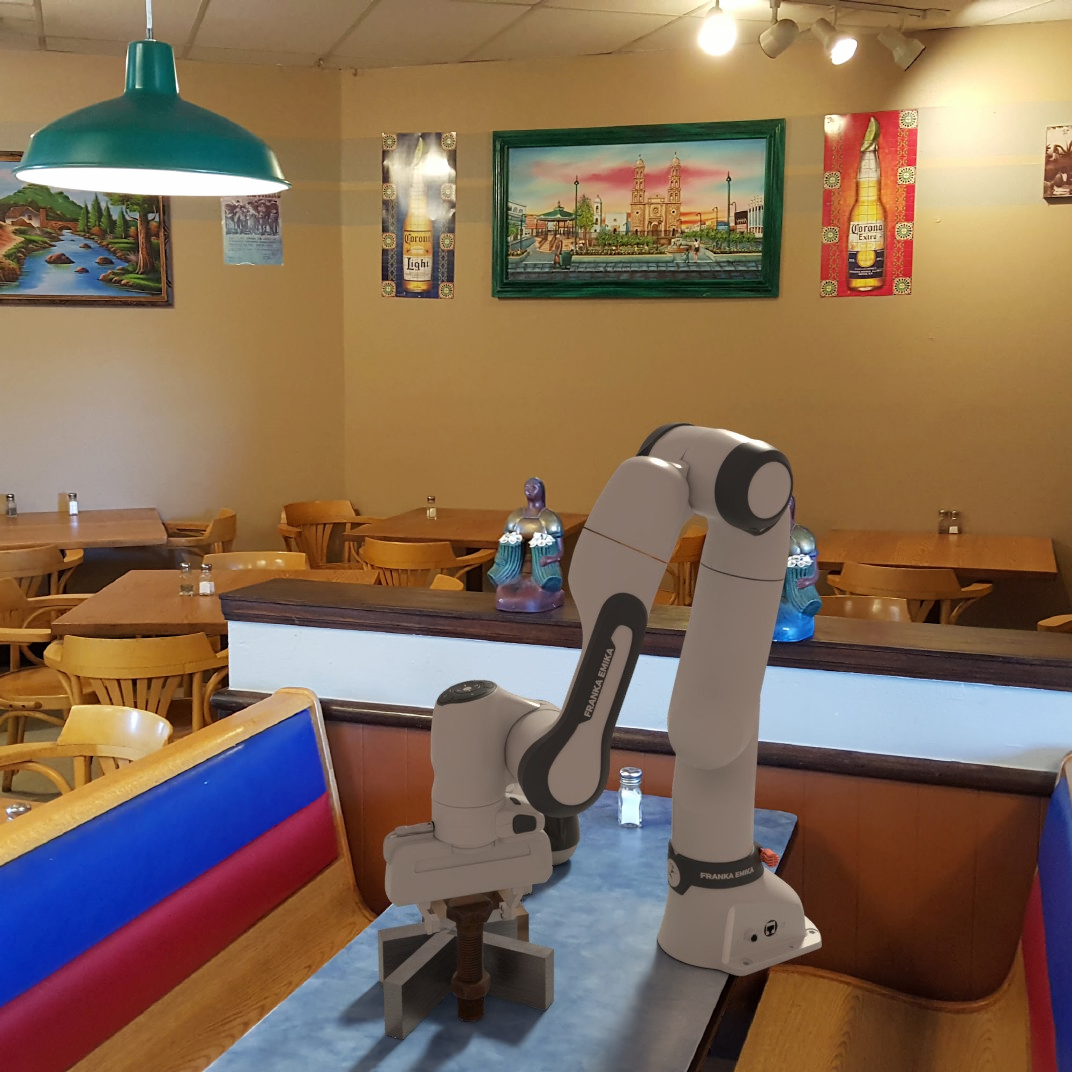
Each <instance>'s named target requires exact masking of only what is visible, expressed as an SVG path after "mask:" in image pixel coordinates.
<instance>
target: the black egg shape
mask: <svg viewBox="0 0 1072 1072" xmlns="http://www.w3.org/2000/svg"><path fill="white" fill-rule="evenodd" d="M543 815H544V814H543ZM544 818H545V825H544V828H543V830H544V832H545V833H546V834H547V836H548V838H549V840H550V845H551V853H552V865H553V866H558V865H562V864H564V863H566V862H567V861H568V860H570V859H571V857H573V855H574V854H575V852H576V850H577V848H578V844H579V843H580V840H581V825H580V817H579V814H577V815H574V816H570V817H563V818H557V817H550V816H547V815H544Z"/></svg>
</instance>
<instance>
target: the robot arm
mask: <svg viewBox="0 0 1072 1072" xmlns="http://www.w3.org/2000/svg"><path fill="white" fill-rule="evenodd" d="M793 492H794V476H793V470H792V466H791V463H790V461H789V459H788V457H787V456H786V455H785V454H784V453H783V452H782V451H780V450H779V449H778V448H776V447H775V446H773V445H772V444H769V443H767V442H765V441H763V440H760V439H753V438H751V437H748V436H746V435H743V434H741V433H738V432H735V431H731V430H728V429H724V428H713V427H706V426H697V425H695V424H692V423H689V422H671V423H666V424H663V425H660V426H658V427H657V428H656V429H654V430H653V431H652V432H651V433H650V434H649V435H648V436H647V437H646V438H645V440H644V441H643V442H642V444H641V445H640V447H639V449H638V451H637V453H636V454H635V456H632V457H630V458H628V459H625V460H624V461H623V462H621V463H620V465H618V467H617V468H616V469H615V471H614V472H613V474H612V475H611V477H610V478H609V479H608V481H607V483H606V485H605V486H604V487H603V489H602V491H601V493H600V494H599V495H598V498H597V500H596V501H595V503H594V505H593V507H592V509H591V511H590V513H589V514H588V517H587V520H586V521H585V522H584V525H583V527H585V528H582V529H581V533H580V534H579V536H578V539H577V542H576V544H575V547H574V550H573V553H572V558H571V561H570V566H569V571H568V575H567V580H568V586H569V591H570V593H571V594H570V595H571V596H572V599H573V600H574V604H575V606H576V610H577V611H578V615H579V619H580V623H581V629H582V646H581V651H580V655H579V659H578V662H577V664H576V667H575V670H574V673H573V675H572V678H571V681H570V684H569V687H568V690H567V691H566V692H567V693H566V696H565V698H564V701H563V703H562V704H563V705H562V706H561V708H559V706H557V705H555V704H554V703H552V702H550V701H546V700H543V699H533V698H529V697H528V698H527V697H524V696H519V695H517V694H514V693H513V692H510V691H508V690H506V689H504V688H502V687H501V686H499V684H497V683H496V682H494V681H492V680H488V679H487V680H486V679H470V680H466V681H462V682H459V683H455V684H453V685H451V686H449V687H448V688H446V689H445V690H443V691H442V692H440V694H439V696H438V697H437V699H436V701H435V703H434V707H433V711H432V717H431V718H432V719H431V726H430V727H431V729H430V730H431V731H430V761H431V766H432V768H433V773H434V774H433V775H434V779H433V784H432V787H431V821H427V822H422V823H417V824H416V823H415V824H413V825H400V826H397V827H395V829H394V830H393V831H391V832H389V833H388V834H387V835H386V836H385V837H384V839H383V844H382V848H383V849H382V850H383V852H382V856H383V859H384V861H385V862H386V866H385V876H384V889H385V894H386V896H387V898H388V900H389V901H390V902H391V903H392V904H393V905H394V906H395V907H399V908H400V907H406V906H411V905H415V906H416V907H417V909H418V912H419V913H420V915H421V917H422V916H423V917H424V919H425V931H426V933H427V934H428V935H430V934H435V933H440V928H439V926H440V920H439V918H438V916H437V914H429V913H428V911H427V910H426V909H430V901H436V900H442V899H448V898H454V897H460V896H466V895H472V894H478V893H484V892H490V891H496V890H502V889H508V888H509V889H510V890H511V891H510V893H509V895H508V897H507V899H506V902H501V903H499V908H500V909H501V910H500V917H501V919H502V920H503V921H508V920H514V919H515V907H516V906H517V905H518V903H519V901H520V902H521V900H522V898H523V896H524V895H523V894H524V886H526V885H532V886H533V885H537V884H543V883H544V884H545V883H546V882H547V881H548V880H549V879H550V878H551V876H552V874H553V866H552V853H551V845H550V840H549V838H548V836H547V834H546V833H545V832H544V830H543V828H544V825H545V818H544V815H547V816H550V817H557V818H563V817H570V816H574V815H577V814H578V815H579V814H581V813H583V812H585V811H586V810H588V809H590V808H591V807H592V806H593V805H595V803H596V802H597V801H598V800H599V799H600V797H601V796H602V795H603V793H604V791H605V789H606V788H607V784H608V781H609V777H610V770H611V747H612V739H613V735H614V732H615V728H616V726H617V722H618V719H619V716H620V713H621V710H622V707H623V705H624V703H625V698H626V696H627V692H628V690H629V687H630V684H631V681H632V678H633V676H634V673H635V670H636V666H637V664H638V661H639V658H640V654H641V651H642V648H643V644H644V641H645V636H646V632H647V628H648V624H649V623H648V622H649V618H650V613H651V611H652V607H653V604H654V601H655V599H656V595H657V592H658V590H659V588H660V585H661V583H662V579H663V577H664V575H665V573H666V570H667V567H668V566H669V564H670V561H671V558H672V555H673V554H674V551H675V548H676V545H677V542H678V541H679V538H680V534H681V530H682V529H683V527H684V526H685V524H687V522H688V521H689V520H691V519H692V518H693V517H694V516H696V517H700V518H706V521H707V528H708V529H707V532H706V535H705V539H704V544H703V548H702V552H701V558H700V562H699V568H698V571H697V578H696V583H695V588H694V592H693V593H694V594H693V599H692V604H691V609H690V614H689V619H688V624H687V628H686V631H685V636H684V640H683V644H682V647H681V652H680V656H679V660H678V661H679V662H678V666H677V670H676V674H675V677H674V681H673V682H674V683H673V687H672V690H671V691H672V692H671V695H670V696H671V697H670V701H669V705H668V711H667V717H666V719H667V720H666V726H667V727H666V728H667V735H668V739H669V744H670V746H671V748H672V750H673V752H674V753H675V761H674V762H675V763H674V771H673V780H672V785H671V787H672V788H671V790H672V791H671V832H670V833H671V835H670V837H671V838H670V839H669V841H668V843H667V844H668V845H667V846H668V847H667V862H666V872H667V874H666V875H667V884H668V888H667V889H668V890H667V896H666V902H665V909H664V912H663V917H662V921H661V924H660V927H659V929H658V930H659V931H658V933H657V942H658V944H659V946H660V947H661V949H662V950H663V951H664V952H666V954H667V955H669V956H670V957H672V958H674V959H676V960H678V961H681V962H683V963H686V964H688V965H692V966H696V967H701V968H707V969H712V970H713V969H715V970H718V971H722V972H725V973H728V974H731V975H733V976H738V977H744V976H747V975H750V974H753V973H756V972H758V971H762V970H764V969H768V968H770V967H772V966H776V965H778V964H781V963H784V962H786V961H789V960H791V959H794V958H798V957H800V956H803V955H806V954H808V953H810V952H814V951H816V950H819V949H821V948H822V936H821V933H820V931H819V929H818V928H817V927H816V925H815V924H814V923H813V922H812V921H811V920H810V919H809V918H808V917H807V916H806V915H805V911H804V907H803V903H802V901H801V899H800V896H799V895H798V893H797V892H796V891H795V890H794V889H793V888H792V886H791V885H789V884H788V883H786V881H784V880H783V879H781V877H779V876H778V875H777V874H775V873H773V871H771V870H769V869H768V868H771V869H773V868H775V867H777V866H778V864H779V863H780V856H779V855H778V854H777V853H776V852H774V851H773V850H771V849H770V848H765V849H764V848H763V846H762V844H760V843H759V842H757V841H756V840H754V827H755V826H754V823H755V822H754V821H755V820H754V819H755V795H756V793H755V792H756V778H757V766H758V765H757V764H758V745H759V731H760V714H761V694H762V688H763V684H764V680H765V679H764V678H765V674H766V670H767V666H768V665H767V664H768V661H769V656H770V653H771V652H770V651H771V645H772V642H773V638H774V632H775V627H776V624H777V617H778V613H779V608H780V605H781V604H780V603H781V600H782V599H781V598H782V593H783V588H784V584H785V577H786V573H787V568H788V561H789V554H790V546H791V545H790V544H791V543H790V541H791V509H790V506H789V505H790V502H791V499H792V496H793ZM588 529H589V530H588ZM514 783H519V785H520V787H521V789H522V791H523V793H524V795H525V796H522V795H516V794H510V793H506V788H507V786H508V785H510V784H514ZM543 814H544V815H543ZM763 863H764V864H765V865H766V866H767V867H768V868H766V867H765V866H764V864H763Z"/></svg>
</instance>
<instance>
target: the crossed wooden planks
mask: <svg viewBox="0 0 1072 1072" xmlns="http://www.w3.org/2000/svg"><path fill="white" fill-rule="evenodd" d="M500 910H501V909H496V910H493V912H492V914H491V915H490V917H489V919H488V921H487V923H484V928H483V954H484V955H483V962H484V963H483V964H484V966H483V967H484V968H483V969H484V970H485V971H486V972H487V973H488V974H489V975H490V987H489V990H488V992H487V994H486V995H485V996H491V997H493V998H494V997H495V998H498V999H501V1000H505V1001H508V1002H513V1003H516V1004H520V1005H524V1006H527V1007H531V1008H535V1009H539V1010H543V1011H547V1010H548V1008H549V1007H550V1006H551V1005H552V1003H553V1002H555V948H553V947H548V946H545V945H540V944H537V943H533V942H530V941H529V942H525V941H521V940H517V916H516V915H515V919H514V920H508V921H503V920H502V919H501V917H500ZM439 920H440V926H439V928H440V933H435V934H430V935H428V934H427V933H426V931H425V922H416V923H412V924H405V925H399V926H394V927H393V926H392V927H388V928H382V929H381V928H380V929H377V951H378V952H377V953H378V954H377V955H378V956H377V957H378V958H377V959H378V981H379V984H380V986H381V988H382V991H383V1008H384V1009H383V1011H384V1012H383V1013H384V1035H385V1034H386V1035H385V1036H387V1035H389V1036H388V1037H390V1036H393V1037H392V1038H394V1037H396V1038H395V1039H397V1038H400V1039H399V1040H401V1039H404V1038H405V1037H408V1036H409V1034H411V1032H412V1031H413V1030H414V1029H415V1028H416V1027H418V1026H419V1025H420V1023H422V1022H423V1020H424V1019H425V1018H426V1017H427V1016H428V1015H429V1014H430V1013H431V1012H432V1011H433V1010H435V1008H436V1007H437V1006H438V1005H439V1004H440V1003H441V1002H442V1001H443V1000H444V999H445V998H446V997H447V996H449V994H450V993H452V991H451V980H452V977H453V975H454V973H455V972H456V971H457V969H458V968H457V929H456V922H454V921H452V920H449V919H447V918H445V919H439ZM405 1039H406V1038H405ZM405 1039H404V1040H405Z"/></svg>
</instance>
